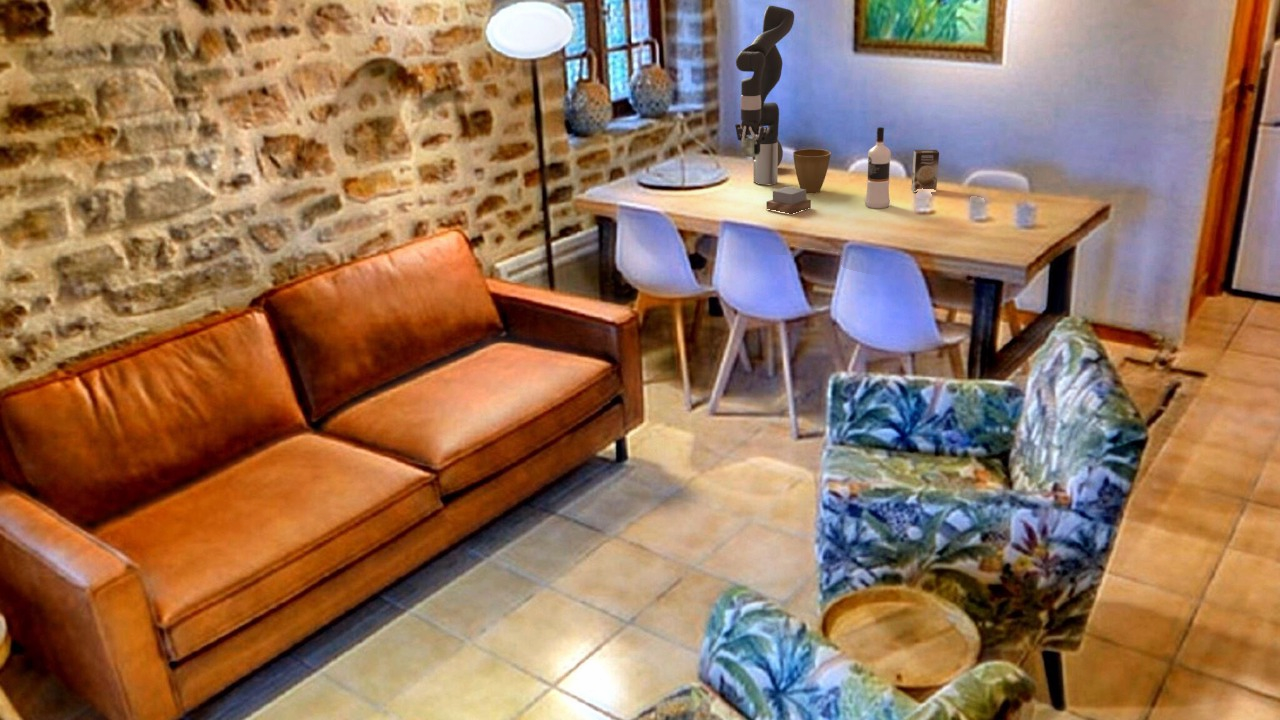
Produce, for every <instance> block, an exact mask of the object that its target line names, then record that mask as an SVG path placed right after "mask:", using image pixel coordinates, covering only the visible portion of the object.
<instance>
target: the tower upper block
mask: <svg viewBox="0 0 1280 720" xmlns="http://www.w3.org/2000/svg"><path fill="white" fill-rule="evenodd" d="M806 199H807V193H806V189H800V187H794V186H784V187H780V188H778V189H775V190H772V200H773V201H774V202H779V203H785V204H790V205H792V204H795V203H798V202H801V201H804V200H806Z"/></svg>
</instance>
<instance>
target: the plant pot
mask: <svg viewBox="0 0 1280 720" xmlns="http://www.w3.org/2000/svg"><path fill="white" fill-rule="evenodd" d="M792 153H793V154H792V155H793V164H794V170H795V174H796V179H797V182H798V185H799V188H800V189H806V194H808V193H813V194H818V193H820V191H821V189H822V187H823V184H824V183H825V179H826V175H827V172H828V169H829V163H830V160H831V155H832V153H831V151H829V150H826V149H821V148H820V149H819V148H818V149H817V148H805V149H804V148H803V149H798V150H794V151H793V152H792Z"/></svg>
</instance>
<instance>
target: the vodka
mask: <svg viewBox="0 0 1280 720" xmlns="http://www.w3.org/2000/svg"><path fill="white" fill-rule="evenodd" d="M884 133H885V128H884V127H883V126H878V127H877V128H876V142H875V145H874V146H873V147H871V148H870V149H869V150H868V152H867V156H868V159H867V180H866V182H867V183H866V195H865V199H864V205H865V206H866V207H867V208H868V209H877V210H878V209H879V210H880V209H885V208H887V207H889V206H890V203H891V202H890V201H891V198H890V192H889V191H890V182H891V181H890V168H891V167H890V166H891V156H892V155H891V154H892V152H891V150H890V149H889V148H888V147H887V146H886V145H884V138H885V137H884Z"/></svg>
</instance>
